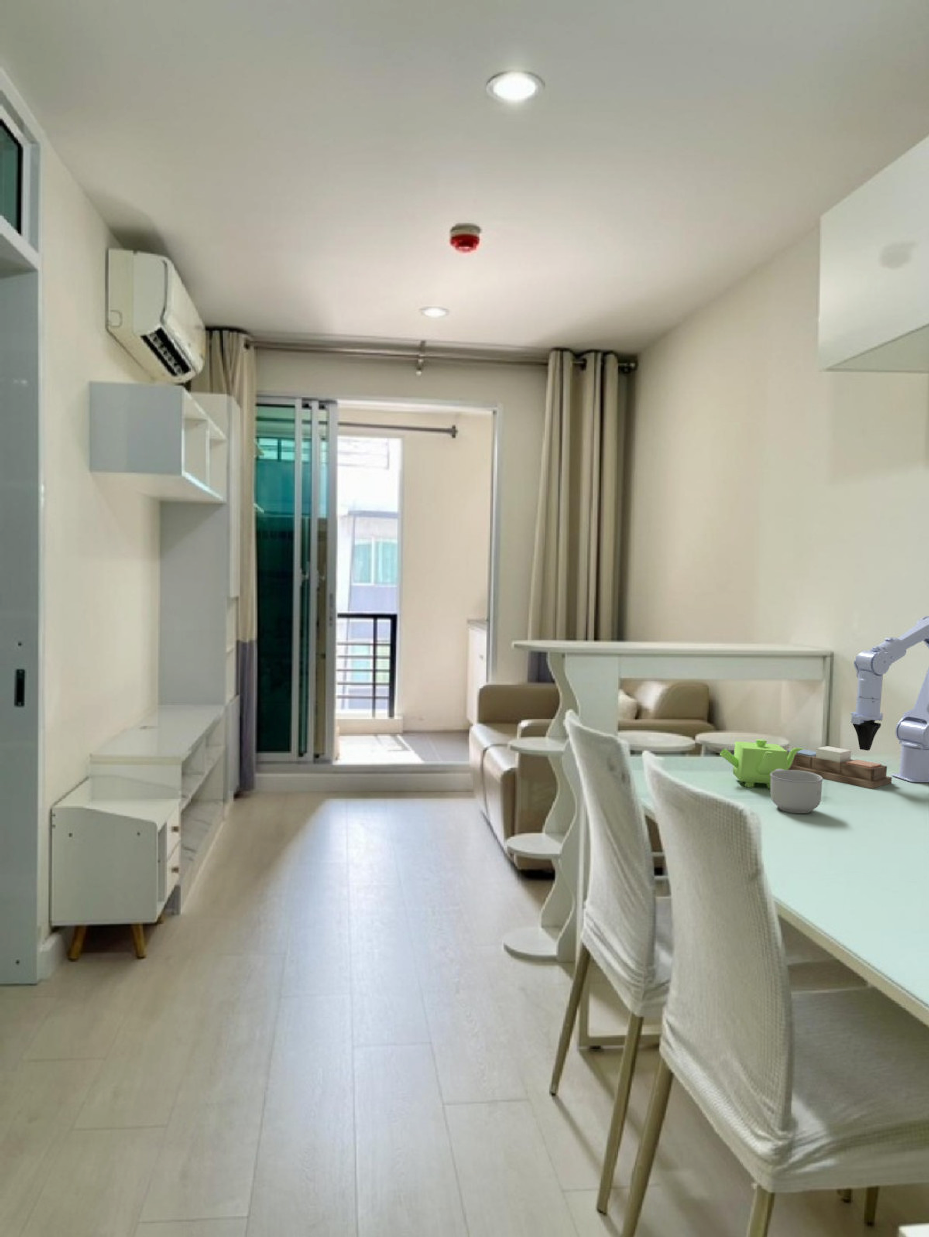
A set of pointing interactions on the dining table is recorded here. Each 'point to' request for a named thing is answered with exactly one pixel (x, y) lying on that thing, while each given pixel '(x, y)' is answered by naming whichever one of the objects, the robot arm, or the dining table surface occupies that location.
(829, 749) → the cream key
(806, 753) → the slate blue key
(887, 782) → the wooden compartment tray
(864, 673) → the robot arm
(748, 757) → the kettle
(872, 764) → the terracotta key
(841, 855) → the dining table surface
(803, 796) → the teacup
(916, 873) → the dining table surface
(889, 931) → the dining table surface
